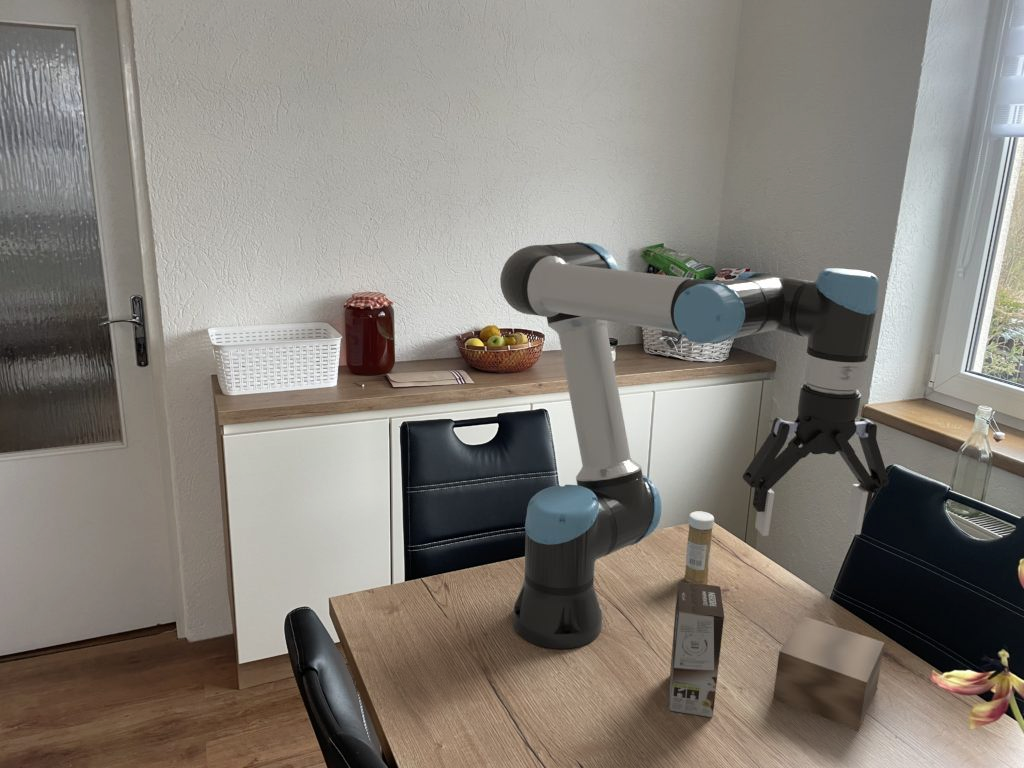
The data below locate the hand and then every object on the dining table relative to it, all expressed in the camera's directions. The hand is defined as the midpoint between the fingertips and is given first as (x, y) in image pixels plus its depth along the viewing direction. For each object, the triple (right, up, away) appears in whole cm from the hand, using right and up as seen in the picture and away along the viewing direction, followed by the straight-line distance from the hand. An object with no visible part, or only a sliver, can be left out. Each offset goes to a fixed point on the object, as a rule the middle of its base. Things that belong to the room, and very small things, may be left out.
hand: (807, 531), depth 111 cm
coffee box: (-15, -26, +6) cm, 30 cm away
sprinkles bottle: (-7, -17, +39) cm, 43 cm away
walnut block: (+5, -26, +7) cm, 27 cm away
